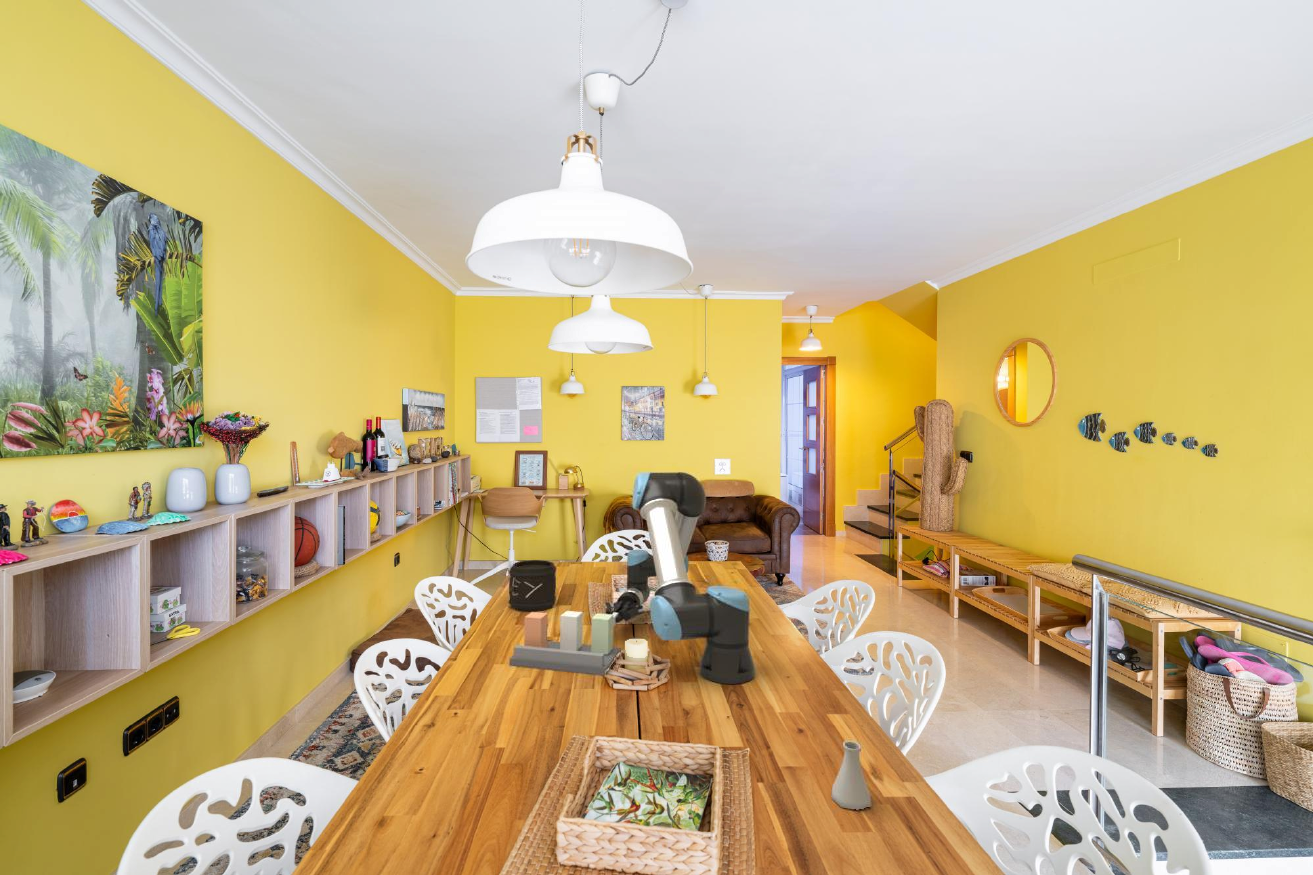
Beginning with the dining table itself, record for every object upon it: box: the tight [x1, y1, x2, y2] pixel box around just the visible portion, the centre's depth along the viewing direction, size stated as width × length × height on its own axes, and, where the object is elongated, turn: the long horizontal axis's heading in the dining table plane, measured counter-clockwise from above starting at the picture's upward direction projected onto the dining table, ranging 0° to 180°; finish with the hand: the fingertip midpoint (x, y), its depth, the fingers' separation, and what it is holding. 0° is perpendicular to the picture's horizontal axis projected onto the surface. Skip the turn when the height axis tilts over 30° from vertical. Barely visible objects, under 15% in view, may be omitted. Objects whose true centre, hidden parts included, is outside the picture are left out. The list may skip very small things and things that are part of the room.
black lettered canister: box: [508, 559, 557, 613], centre depth 228 cm, size 18×18×16 cm
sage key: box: [590, 613, 614, 655], centre depth 177 cm, size 5×5×10 cm
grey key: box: [559, 610, 584, 651], centre depth 179 cm, size 5×5×10 cm
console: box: [509, 640, 622, 676], centre depth 176 cm, size 28×16×5 cm, turn 77°
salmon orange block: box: [523, 611, 549, 648], centre depth 177 cm, size 5×5×10 cm
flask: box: [831, 740, 872, 811], centre depth 111 cm, size 7×7×10 cm
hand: (609, 623), depth 184 cm, fingers closed
